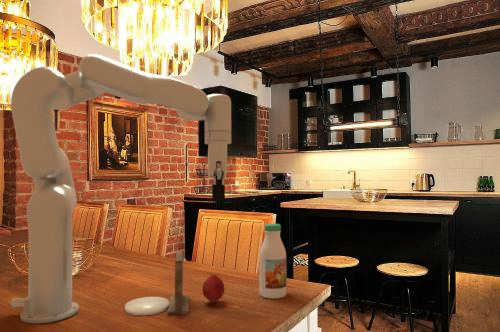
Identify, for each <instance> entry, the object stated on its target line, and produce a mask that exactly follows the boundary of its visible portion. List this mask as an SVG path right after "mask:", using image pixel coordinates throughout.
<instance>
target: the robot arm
mask: <svg viewBox="0 0 500 332" xmlns="http://www.w3.org/2000/svg"><path fill="white" fill-rule="evenodd" d="M106 93H107V94H109V95H112V96H115V97H118V98H120V99H123V100H126V101H129V102H132V103H135V104H140V105H141V104H142V105H144V104H155V105H161V106H165V107H167V108H170V109H174V110H176V113H177V116H178V117H179V118H180V119H181V120H183V121H186V122H197V121H204V144H205V145H208V148H207V177H208V178H209V179H211V178H212V184H211V185H212V186H211V188H212V189H211V196H212V200H213V201H225V199H226V194H225V193H226V185H225V178H226V176H227V169H228V168H227V167H228V145H231V144H232V100H231V98H230V96H229V95H227V94H222V93H212V94H208V95H207V94H206V93H205V92H204V91H203V89H201V88H199V87H197V86H195V85H192V84H190V83H187V82H184V81H181V80H179V79H177V78H176V79H175V78H173V77H170V76H169V77H168V76H164V75H160V74H159V75H158V74H156V73H155V74H154V73H149V72H145V71H143V70H139V69H137V68H134V67H131V66H129V65H126V64H123V63H120V62H118V61H116V60H113V59H111V58H108V57H105V56H102V55H100V54H87V55H85V56H83V57H82V59H80V61H79V64H78V66H77V70H76V71H73V72H71V73H66V74H64V75H63V74H62V73H61V72H60V71H59V70H57V69H55V68H54V67H53V68H52V67H49V66H40V67H35V68H33V69H31V70H28V71H27V72H25V74H23V76H22V77H20V78H19V79H18V81H17V82H16V84H15V85H14V87H13V90H12V94H11V100H10V107H11V109H10V110H11V114H12V120H13V126H14V129H15V130H14V131H15V137H16V141H17V146H18V151H19V156H20V162H21V167H22V170H23V172H24V173H25V175H27V176H28V177H30V179H32V181H33V185H34V192H33V193H32V194H31V196H30V197H29V199H28V202H27V205H26V206H27V207H26V217H27V218H26V219H27V228H28V232H27V233H28V282H27V283H28V285H27V286H28V287H27V289H28V290H27V292H28V293H27V295H28V296H26V297H24V298H21V297H13V298H11V300H10V303H9V304H10V308H11V309H12V310H13V309H15V310H17V309H22V311H21V313H20V320H21V321H22V322H24V323H27V324H46V323H53V322H58V321H61V320H64V319H68V318H70V317H73V316H74V315H75V314H77V313H78V312H79V310H80V307H79V303H77V302H76V301H73V212H74V211H75V210H76V207H77V204H78V198H77V193H76V187H75V183H74V178H73V173H72V169H71V165H70V160H69V157H68V155H67V154H66V152H65V151H64V150H63V149H62V147H61V148H60V145H59V141H58V137H57V133H56V126H55V123H54V118H53V115H52V110H54V111H55V110H58V111H59V110H64V109H68V108H71V107H74V106H76V105H80V104H81V103H84V102H86V101H89V100H92V99H95V98H97V97H99V96H102V95H103V94H106Z"/></svg>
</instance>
